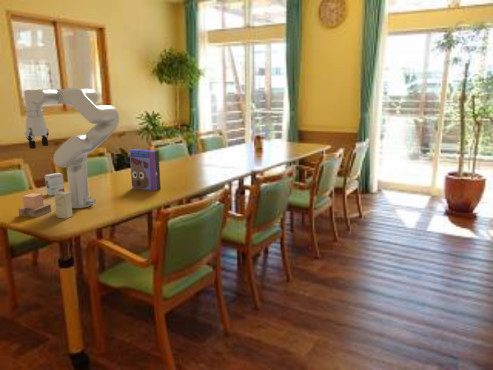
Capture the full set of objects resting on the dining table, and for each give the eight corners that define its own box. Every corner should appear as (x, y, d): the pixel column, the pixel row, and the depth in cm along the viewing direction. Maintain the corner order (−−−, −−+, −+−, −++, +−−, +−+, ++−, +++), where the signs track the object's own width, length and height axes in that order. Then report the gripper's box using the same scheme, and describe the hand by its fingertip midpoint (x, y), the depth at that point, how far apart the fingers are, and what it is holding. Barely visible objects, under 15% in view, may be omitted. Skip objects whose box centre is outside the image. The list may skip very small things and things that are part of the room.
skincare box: (56, 217, 195) (53, 193, 192) (63, 214, 199) (60, 190, 196) (66, 218, 193) (63, 194, 190) (73, 216, 197) (70, 192, 194)
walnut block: (51, 212, 205) (50, 204, 204) (36, 218, 195) (35, 210, 194) (35, 210, 207) (34, 203, 206) (19, 216, 198) (18, 208, 197)
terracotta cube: (43, 205, 202) (42, 193, 201) (35, 208, 197) (33, 196, 195) (32, 204, 203) (31, 193, 202) (24, 208, 198) (22, 196, 196)
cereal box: (132, 188, 250) (129, 150, 245) (136, 186, 254) (134, 148, 249) (156, 191, 244) (153, 151, 238) (160, 189, 248) (158, 150, 243)
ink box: (60, 191, 244) (58, 172, 241) (65, 192, 241) (62, 173, 238) (46, 194, 237) (44, 174, 235) (50, 195, 234) (48, 175, 232)
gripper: (40, 113, 219) (43, 144, 223) (16, 115, 202) (21, 149, 206) (52, 113, 217) (56, 145, 221) (29, 115, 201) (34, 149, 205)
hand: (39, 147), depth 214 cm, fingers open, 9 cm apart
